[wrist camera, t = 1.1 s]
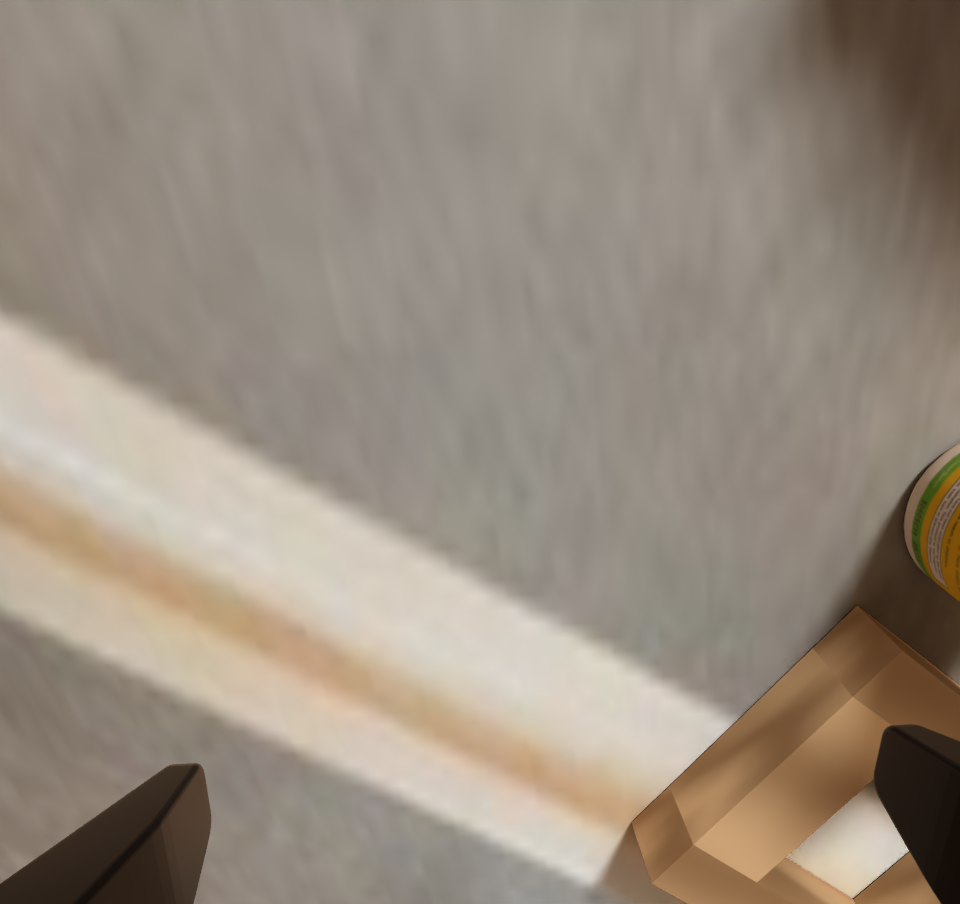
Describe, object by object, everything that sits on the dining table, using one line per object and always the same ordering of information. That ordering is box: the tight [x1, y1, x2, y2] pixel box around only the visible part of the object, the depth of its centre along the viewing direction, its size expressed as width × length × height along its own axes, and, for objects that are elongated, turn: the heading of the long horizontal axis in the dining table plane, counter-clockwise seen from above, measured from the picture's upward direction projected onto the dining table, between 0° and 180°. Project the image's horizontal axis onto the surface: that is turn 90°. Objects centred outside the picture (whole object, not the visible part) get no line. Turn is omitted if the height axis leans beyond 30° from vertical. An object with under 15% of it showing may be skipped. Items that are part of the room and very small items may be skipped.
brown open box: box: [632, 606, 960, 904], centre depth 27 cm, size 11×13×2 cm
